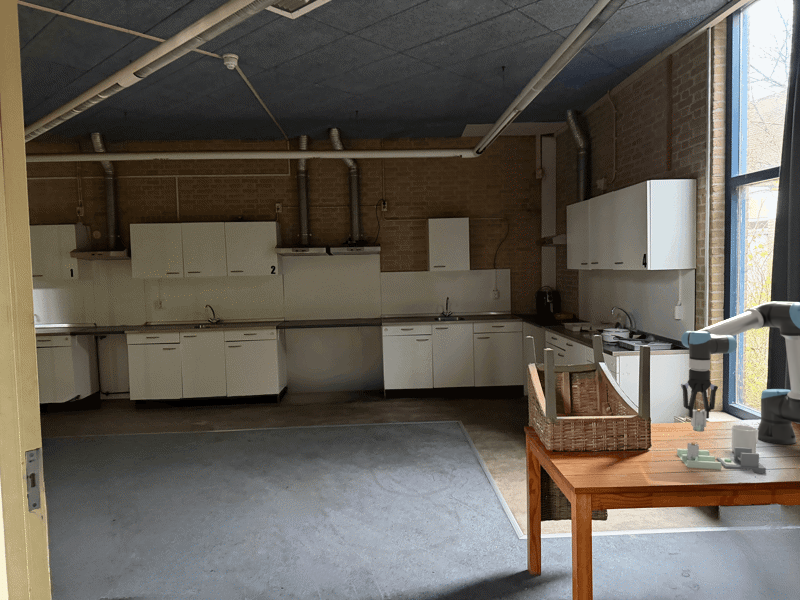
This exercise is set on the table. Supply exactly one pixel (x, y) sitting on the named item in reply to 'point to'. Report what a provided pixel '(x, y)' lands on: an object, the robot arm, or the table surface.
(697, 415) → the cell
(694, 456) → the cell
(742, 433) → the mug
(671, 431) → the table surface
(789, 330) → the robot arm
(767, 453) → the table surface
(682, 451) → the tray
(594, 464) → the table surface
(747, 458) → the grey mounting bracket
